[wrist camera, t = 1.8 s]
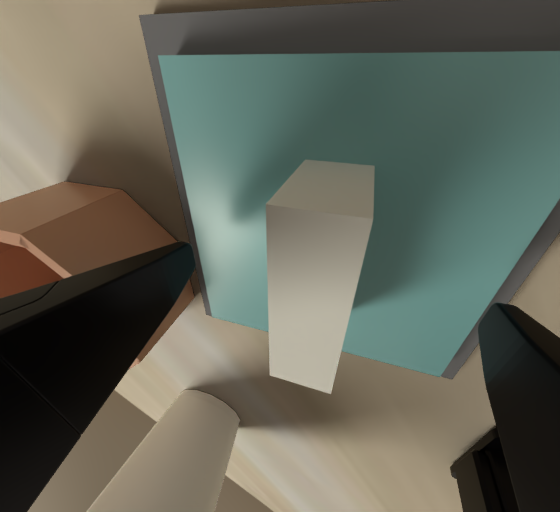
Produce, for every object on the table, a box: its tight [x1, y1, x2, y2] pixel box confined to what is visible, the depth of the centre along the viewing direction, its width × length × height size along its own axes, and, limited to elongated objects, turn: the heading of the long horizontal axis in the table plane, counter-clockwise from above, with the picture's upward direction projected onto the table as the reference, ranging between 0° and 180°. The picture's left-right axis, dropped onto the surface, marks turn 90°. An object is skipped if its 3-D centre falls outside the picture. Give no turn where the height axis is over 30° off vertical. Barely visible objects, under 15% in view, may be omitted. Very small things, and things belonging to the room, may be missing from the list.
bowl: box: [0, 181, 194, 370], centre depth 14 cm, size 9×9×4 cm
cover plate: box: [158, 51, 560, 394], centre depth 8 cm, size 11×11×4 cm
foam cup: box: [86, 390, 240, 512], centre depth 19 cm, size 10×9×13 cm
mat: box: [139, 0, 560, 379], centre depth 10 cm, size 13×13×1 cm
